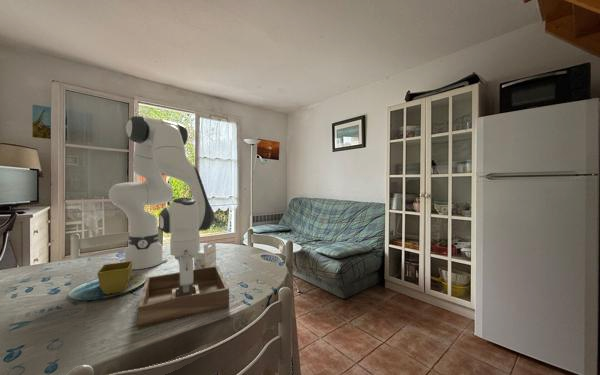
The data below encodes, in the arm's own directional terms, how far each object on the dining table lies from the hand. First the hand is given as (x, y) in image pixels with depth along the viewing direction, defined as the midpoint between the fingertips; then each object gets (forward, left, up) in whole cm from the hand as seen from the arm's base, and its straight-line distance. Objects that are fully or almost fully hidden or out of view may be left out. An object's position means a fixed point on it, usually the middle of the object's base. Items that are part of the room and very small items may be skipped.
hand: (185, 287), depth 79 cm
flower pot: (-19, -22, -4) cm, 29 cm away
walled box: (0, 0, -4) cm, 4 cm away
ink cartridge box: (-17, +8, -4) cm, 19 cm away
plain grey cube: (0, 0, -2) cm, 2 cm away
